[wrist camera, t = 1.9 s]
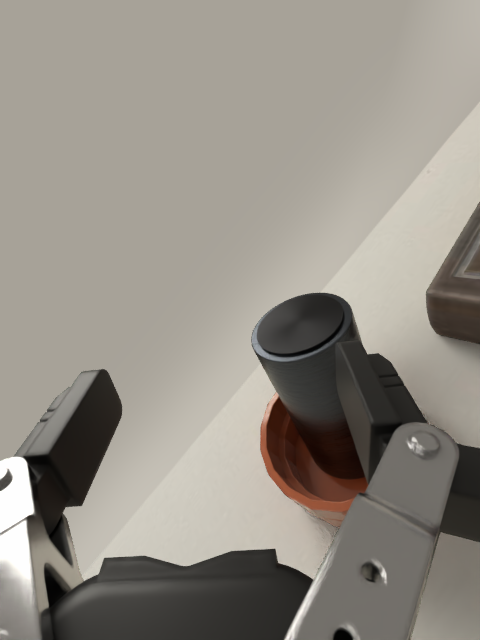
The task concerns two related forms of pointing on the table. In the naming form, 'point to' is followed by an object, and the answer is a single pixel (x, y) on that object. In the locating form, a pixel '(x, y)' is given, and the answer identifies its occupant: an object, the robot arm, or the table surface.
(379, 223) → the table surface
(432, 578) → the table surface
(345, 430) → the black metal canister
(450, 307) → the book
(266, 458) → the terracotta bowl
